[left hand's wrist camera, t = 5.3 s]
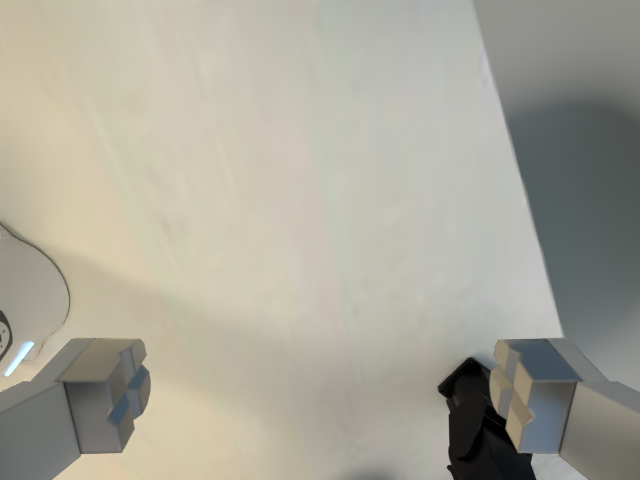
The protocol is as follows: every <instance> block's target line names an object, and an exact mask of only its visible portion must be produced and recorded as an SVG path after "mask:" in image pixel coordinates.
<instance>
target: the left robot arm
mask: <svg viewBox="0 0 640 480" xmlns="http://www.w3.org/2000/svg"><path fill="white" fill-rule="evenodd" d="M68 309H69V295H68V290H67V287H66V284H65V282H64V279H63V277H62V276H61V274H60V272H59V271H58V269H57V268H56V267H55V265H54V264H53V263H52V262H51V261H50V260H49V259H48V258H47V257H46V256H45V255H44V254H42V253H41V252H40V251H38V250H37V249H35V248H34V247H32V246H30V245H28V244H26V243H24V242H22V241H20V240H18V239H16V238H15V237H13V236H12V235H10V234H9V233H8V232H7V231H6V230H5V229H4V228H3V227H2V226H1V225H0V376H1V375H2V374H3V373H5V372H6V371H7V370H8V372H7V373H6V374H5V375H6V376H8V375H9V374H10V373H11V372H12V371H13V370H14V369H15V367H16V366H17V365H18V363H19V362H20V361H21V360H31V359H32V358H34V357H35V356H36V355H37V354H38V353H39V352H40V350H41V348H42V345H43V343H44V341H45V340H46V339H47V338H48V337H49V336H51V335H52V334H53V333H55V332H56V331H57V330H58V329H59V328H60V327H61V325H62V324H63V322H64V321H65V319H66V316H67V313H68ZM145 357H146V350H145V345H144V342H143V341H142V340H141V339H117V338H75V339H71V340H70V341H69V342H68V343H67V344H66V345H65V346H64V347H63V348H62V349H61V350H60V351H59V352H58V353H57V354H56V355H55V356H54V357H53V358H52V359H51V361H50V362H49V363H48V364H47V365H46V366H45V367H44V368H43V369H42V370H41V371H40V372H39V373H38V374H37V375H36V376H35V377H34V378H33V379H32V380H31V381H30V382H21V383H19V384H17V385H15V386H12V387H10V388H8V389H6V390H4V391H2V392H0V480H52V479H53V478H54V477H56V476H57V475H58V474H59V473H61V472H62V471H63V470H64V469H66V468H67V467H68V466H69V465H70V464H72V463H73V462H74V461H75V460H77V459H78V458H79V457H80V456H81V454H99V453H122V451H123V450H124V448H125V446H126V444H127V442H128V440H129V438H130V437H131V435H132V433H133V431H134V429H135V428H134V422H133V420H134V419H136V418H137V417H139V416H140V415H141V414H143V412H144V410H145V408H146V406H147V404H148V399H149V395H150V384H151V381H150V374H149V371H148V370H147V369H146V368H145V367H144V366H143V365H142V362H143V360H144V359H145ZM494 357H495V359H496V360H497V362H498V365H497V366H496V367H495V368H494V369H493V370H492V371H491V374H490V382H489V387H490V397H491V400H492V403H493V406H494V408H495V410H496V412H497V414H499V415H500V416H501V417H503V418H504V419H506V420H507V422H506V428H505V429H506V431H507V433H508V435H509V437H510V438H511V440H512V442H513V444H514V446H515V448H516V450H517V451H518V453H540V454H559V456H560V457H561V458H562V459H564V460H565V461H566V462H567V463H568V464H570V465H571V466H572V467H573V468H575V469H576V470H577V471H578V472H580V473H581V474H582V475H583V476H585V477H586V478H587V479H588V480H640V392H638V391H636V390H634V389H632V388H630V387H627V386H625V385H623V384H621V383H619V382H610V381H609V380H608V379H607V378H606V377H605V376H604V375H603V374H602V373H601V372H600V371H599V370H598V369H597V368H596V367H595V366H594V365H593V364H592V363H591V361H590V360H589V359H588V358H587V357H586V356H585V355H584V354H583V353H582V352H581V351H580V350H579V349H578V348H577V347H576V346H575V345H574V344H573V343H572V342H571V341H570V340H568V339H566V338H542V339H507V340H498V341H497V343H496V345H495V349H494Z"/></svg>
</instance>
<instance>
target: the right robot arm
mask: <svg viewBox="0 0 640 480" xmlns="http://www.w3.org/2000/svg"><path fill="white" fill-rule="evenodd" d="M471 361H473V362H471ZM470 362H471V363H470ZM490 374H491V371H490V370H489V369H488V368H486V367H485V366H483V365H482V364H481V363H479V362H478V361H477V360H475V359H474V358H469V359H468V360H466V361H465V362H464V363H463V364H462V365H461V366H460V367H459V368H458V369H457V370H456V371H455V372H454V373H453V374H452V375H451V376H450V377H449V378H447V379H446V380H445V381H444V382H443V383H442V384H441V385H440V386H439V387H438V391H439V393H441V394H442V395H444V396H445V397H446V398H448V399H447V400H446V403H447V405H448V408H449V410H450V414H449V444H450V446H449V450H448V454H449V459H450V463H451V465H448V466H447V469H448V470H449V471H450V472H451V474H452V476H453V479H454V480H536V477H535V474H534V472H533V469H532V466H531V459H532V454H533V453H518V451H517V450H516V448H515V446H514V444H513V442H512V440H511V438H510V437H509V435H508V433H507V431H506V429H505V428H506V422H507V420H506V419H504V418H503V417H501V416H500V415H499V414H497V412H496V410H495V408H494V406H493V403H492V400H491V397H490V387H489V382H490ZM441 389H443V390H441Z"/></svg>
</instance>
